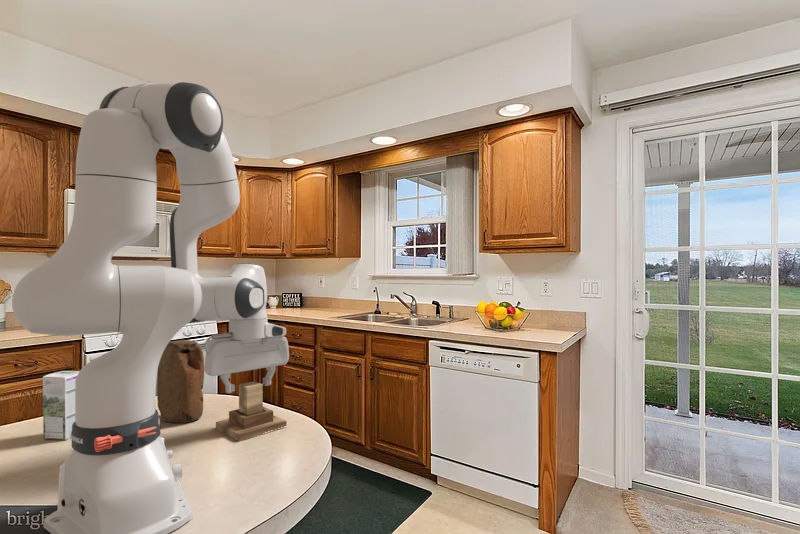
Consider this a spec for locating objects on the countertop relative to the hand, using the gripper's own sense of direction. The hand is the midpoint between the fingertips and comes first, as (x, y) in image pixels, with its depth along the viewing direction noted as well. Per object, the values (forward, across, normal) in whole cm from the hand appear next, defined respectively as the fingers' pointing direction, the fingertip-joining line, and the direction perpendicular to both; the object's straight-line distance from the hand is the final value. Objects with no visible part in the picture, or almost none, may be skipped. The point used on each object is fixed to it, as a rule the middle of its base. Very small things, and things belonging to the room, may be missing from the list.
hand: (249, 388), depth 106 cm
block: (+9, -8, +20) cm, 23 cm away
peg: (+8, +1, +1) cm, 8 cm away
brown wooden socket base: (+10, +1, +1) cm, 10 cm away
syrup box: (+9, -31, +28) cm, 43 cm away
